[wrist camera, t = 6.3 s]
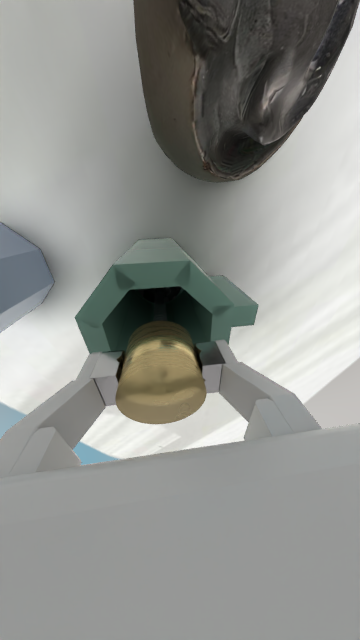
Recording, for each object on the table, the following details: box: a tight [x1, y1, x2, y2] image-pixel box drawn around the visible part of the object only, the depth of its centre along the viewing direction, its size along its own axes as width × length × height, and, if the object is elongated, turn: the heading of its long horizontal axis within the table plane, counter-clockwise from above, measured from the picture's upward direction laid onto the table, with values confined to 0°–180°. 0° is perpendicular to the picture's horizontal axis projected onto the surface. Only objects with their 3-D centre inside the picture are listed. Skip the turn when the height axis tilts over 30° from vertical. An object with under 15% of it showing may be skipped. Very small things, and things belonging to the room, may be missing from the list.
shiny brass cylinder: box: [115, 286, 206, 424], centre depth 13 cm, size 5×5×15 cm
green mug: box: [75, 238, 258, 354], centre depth 15 cm, size 8×11×12 cm
